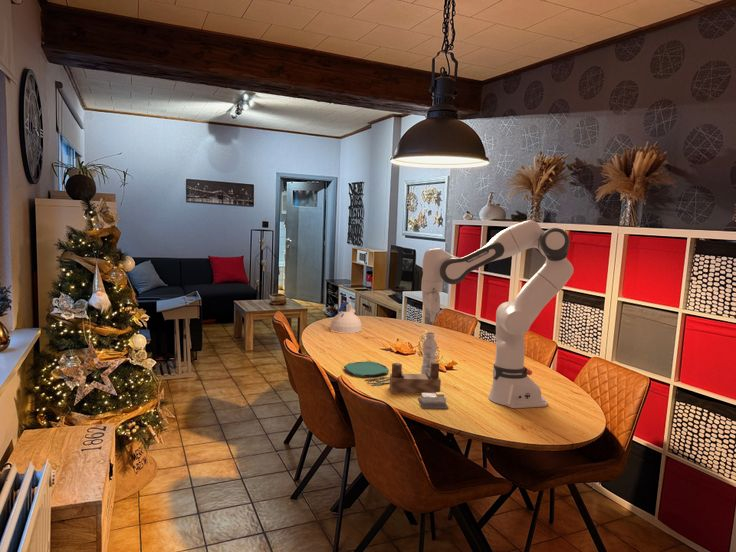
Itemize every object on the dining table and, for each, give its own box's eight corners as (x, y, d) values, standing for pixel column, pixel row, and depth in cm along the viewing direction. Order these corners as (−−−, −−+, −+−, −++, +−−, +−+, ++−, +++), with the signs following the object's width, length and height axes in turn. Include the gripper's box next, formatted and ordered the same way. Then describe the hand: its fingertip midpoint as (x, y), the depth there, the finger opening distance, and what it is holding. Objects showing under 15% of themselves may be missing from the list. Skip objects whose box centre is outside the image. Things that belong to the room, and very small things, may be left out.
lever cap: (443, 400, 197) (443, 391, 196) (445, 404, 192) (446, 395, 192) (420, 400, 196) (421, 390, 196) (422, 404, 192) (423, 394, 191)
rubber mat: (443, 399, 199) (443, 398, 199) (448, 409, 190) (448, 407, 190) (418, 399, 199) (418, 397, 199) (422, 408, 189) (422, 407, 189)
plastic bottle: (425, 373, 233) (427, 331, 230) (438, 376, 229) (440, 333, 226) (417, 376, 228) (419, 333, 226) (430, 379, 224) (432, 335, 221)
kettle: (367, 329, 321) (368, 301, 318) (353, 335, 302) (354, 306, 300) (339, 325, 329) (340, 298, 327) (323, 331, 310) (324, 302, 308)
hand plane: (436, 388, 213) (438, 360, 211) (439, 393, 206) (441, 365, 205) (389, 387, 212) (390, 359, 210) (391, 393, 205) (392, 364, 203)
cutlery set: (376, 363, 246) (376, 359, 246) (406, 383, 219) (406, 378, 219) (338, 367, 237) (338, 363, 237) (364, 389, 211) (364, 384, 210)
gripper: (444, 290, 199) (442, 325, 201) (434, 284, 219) (433, 315, 221) (428, 290, 199) (427, 324, 200) (420, 283, 219) (418, 314, 220)
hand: (430, 319), depth 211 cm, fingers open, 8 cm apart
